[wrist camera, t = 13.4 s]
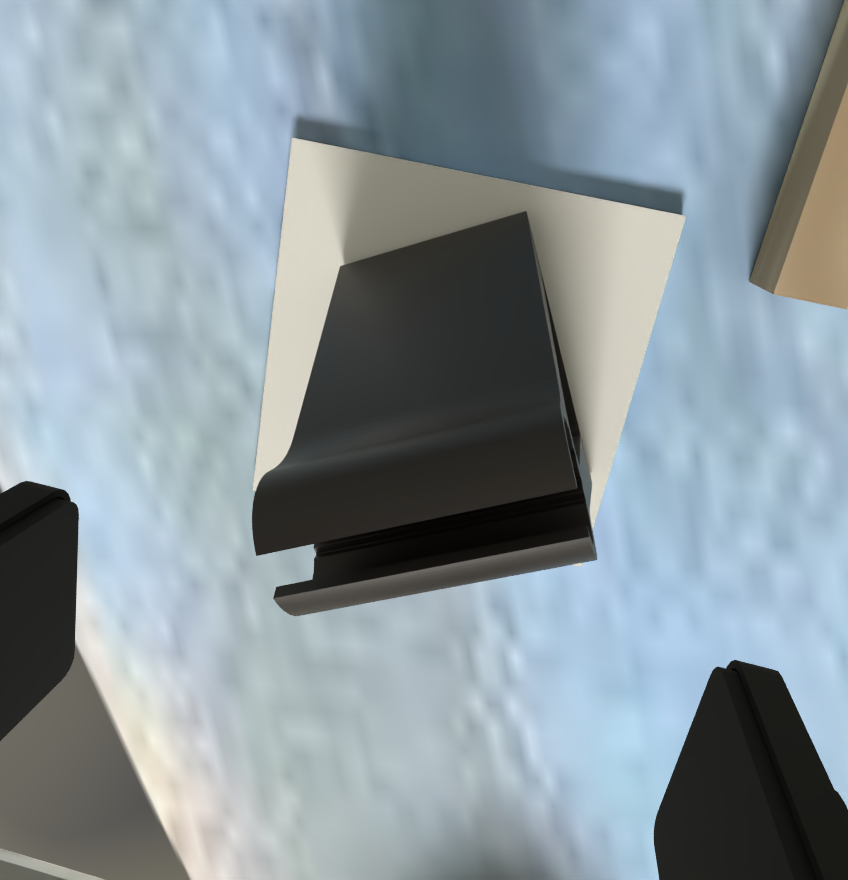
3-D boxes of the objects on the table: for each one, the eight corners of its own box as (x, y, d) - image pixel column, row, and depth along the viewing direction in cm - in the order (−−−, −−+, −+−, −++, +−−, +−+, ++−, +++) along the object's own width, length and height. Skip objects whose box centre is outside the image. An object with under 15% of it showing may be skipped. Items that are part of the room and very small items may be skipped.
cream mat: (682, 214, 22) (686, 215, 22) (580, 558, 27) (581, 566, 26) (297, 138, 23) (292, 137, 23) (258, 484, 28) (252, 490, 27)
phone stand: (343, 263, 24) (173, 345, 13) (528, 209, 22) (522, 248, 11) (421, 514, 26) (337, 768, 15) (591, 479, 25) (637, 729, 14)
